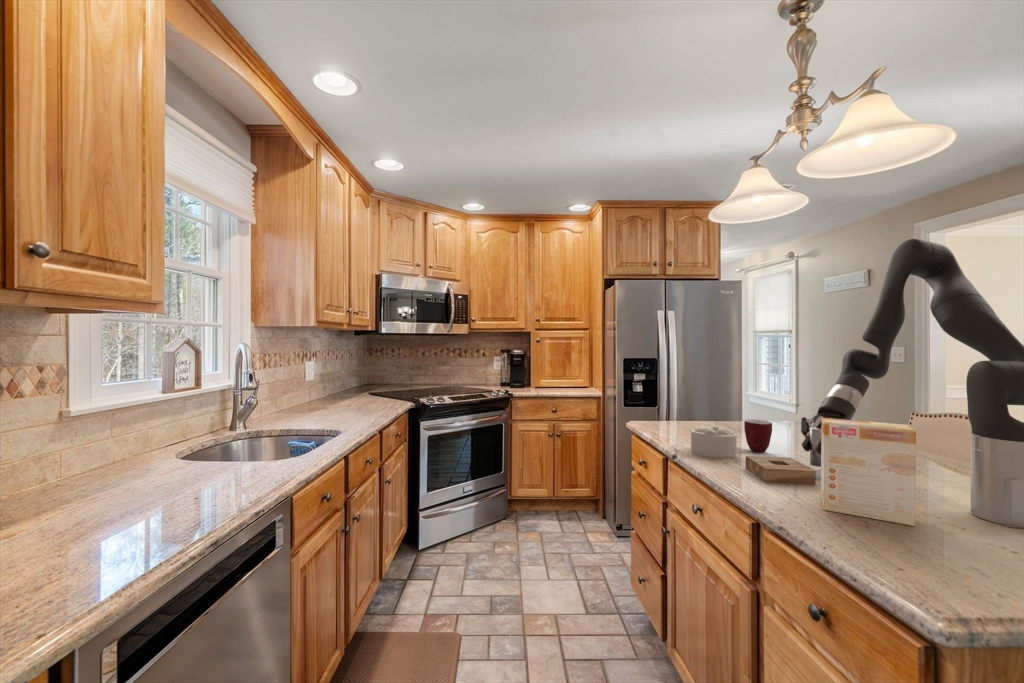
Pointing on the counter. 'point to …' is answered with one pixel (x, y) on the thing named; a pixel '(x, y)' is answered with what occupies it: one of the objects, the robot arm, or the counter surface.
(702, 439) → the lumpy-topped squat cylinder
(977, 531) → the counter surface
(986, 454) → the robot arm
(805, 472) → the hole block
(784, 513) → the counter surface
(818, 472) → the mat
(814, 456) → the pin
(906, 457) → the coffeecake box
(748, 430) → the mug
